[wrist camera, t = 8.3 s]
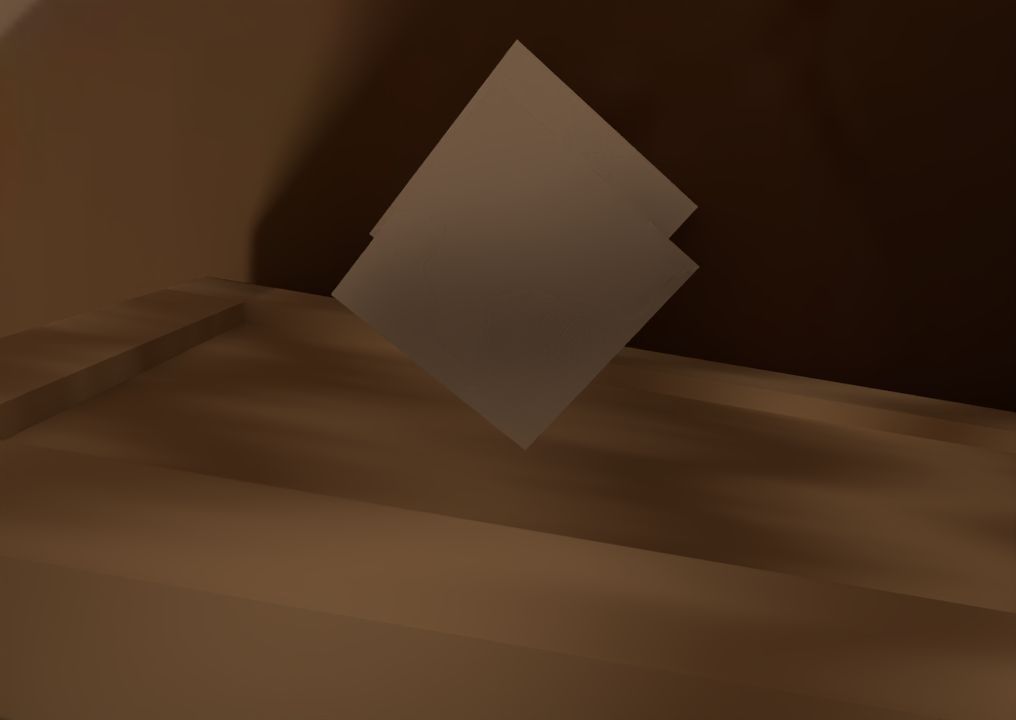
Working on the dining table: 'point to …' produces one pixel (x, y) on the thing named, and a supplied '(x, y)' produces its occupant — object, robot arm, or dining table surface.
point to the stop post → (522, 251)
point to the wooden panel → (480, 534)
